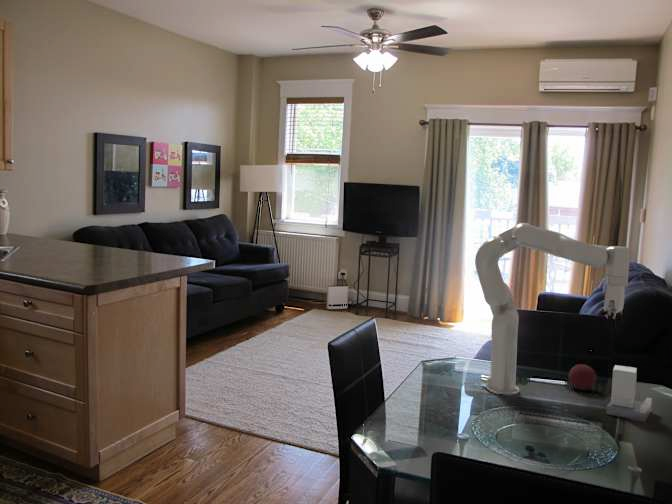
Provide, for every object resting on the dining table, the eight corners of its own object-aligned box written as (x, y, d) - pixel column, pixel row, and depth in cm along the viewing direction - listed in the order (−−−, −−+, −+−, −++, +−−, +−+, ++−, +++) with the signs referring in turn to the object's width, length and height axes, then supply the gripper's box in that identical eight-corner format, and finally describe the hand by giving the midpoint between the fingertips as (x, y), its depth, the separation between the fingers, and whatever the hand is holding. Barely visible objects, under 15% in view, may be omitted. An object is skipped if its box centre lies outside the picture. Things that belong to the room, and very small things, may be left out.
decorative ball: (568, 384, 240) (570, 359, 239) (595, 387, 236) (597, 363, 235) (567, 391, 231) (568, 366, 230) (595, 395, 226) (596, 369, 225)
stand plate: (606, 413, 207) (607, 400, 207) (614, 404, 217) (615, 391, 216) (644, 422, 200) (645, 407, 200) (650, 412, 210) (651, 398, 209)
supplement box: (633, 408, 204) (636, 372, 203) (610, 404, 208) (612, 369, 207) (635, 402, 211) (637, 367, 209) (612, 398, 214) (614, 364, 213)
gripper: (610, 277, 223) (608, 321, 225) (599, 282, 210) (596, 329, 211) (632, 278, 219) (629, 324, 221) (622, 284, 205) (619, 332, 207)
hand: (613, 327), depth 216 cm, fingers open, 9 cm apart
